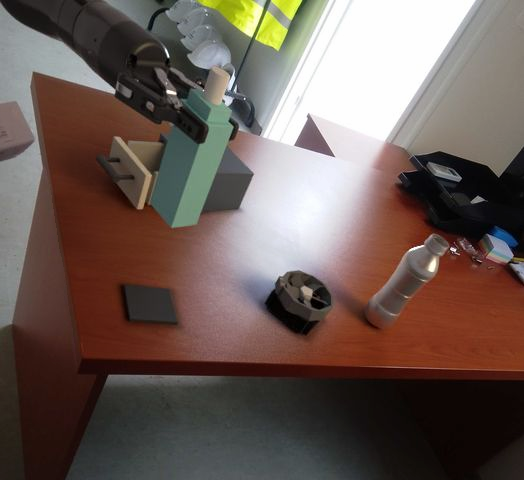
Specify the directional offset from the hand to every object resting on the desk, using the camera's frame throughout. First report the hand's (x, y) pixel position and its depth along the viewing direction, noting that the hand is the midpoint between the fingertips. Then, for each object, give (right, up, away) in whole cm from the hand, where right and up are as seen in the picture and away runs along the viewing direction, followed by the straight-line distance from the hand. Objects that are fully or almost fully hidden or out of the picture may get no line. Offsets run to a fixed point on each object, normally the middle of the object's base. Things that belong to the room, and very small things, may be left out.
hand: (220, 134), depth 52 cm
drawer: (-17, +6, +34) cm, 38 cm away
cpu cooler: (+10, -18, +30) cm, 36 cm away
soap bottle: (-7, -6, +9) cm, 13 cm away
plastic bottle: (+27, -19, +39) cm, 51 cm away
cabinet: (-9, +8, +42) cm, 44 cm away
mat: (-12, -18, +16) cm, 27 cm away
